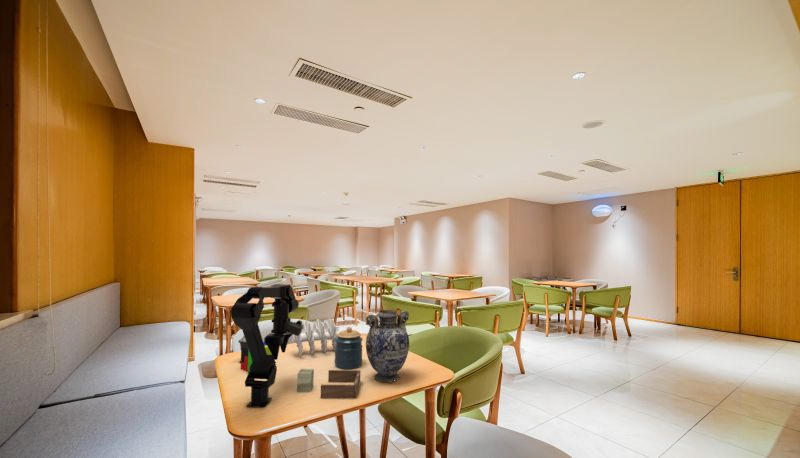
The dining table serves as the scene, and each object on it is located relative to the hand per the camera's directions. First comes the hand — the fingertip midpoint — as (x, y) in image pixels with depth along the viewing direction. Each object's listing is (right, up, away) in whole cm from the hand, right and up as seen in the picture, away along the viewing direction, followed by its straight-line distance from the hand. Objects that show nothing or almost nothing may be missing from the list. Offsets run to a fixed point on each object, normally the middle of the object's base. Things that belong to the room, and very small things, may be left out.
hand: (279, 355), depth 133 cm
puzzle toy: (-18, -13, +20) cm, 30 cm away
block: (+11, -12, -3) cm, 16 cm away
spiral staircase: (+4, -15, +43) cm, 46 cm away
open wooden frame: (+25, -12, -2) cm, 28 cm away
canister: (+23, -14, +26) cm, 37 cm away
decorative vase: (+42, -13, +10) cm, 45 cm away
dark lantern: (-27, -14, +29) cm, 42 cm away
